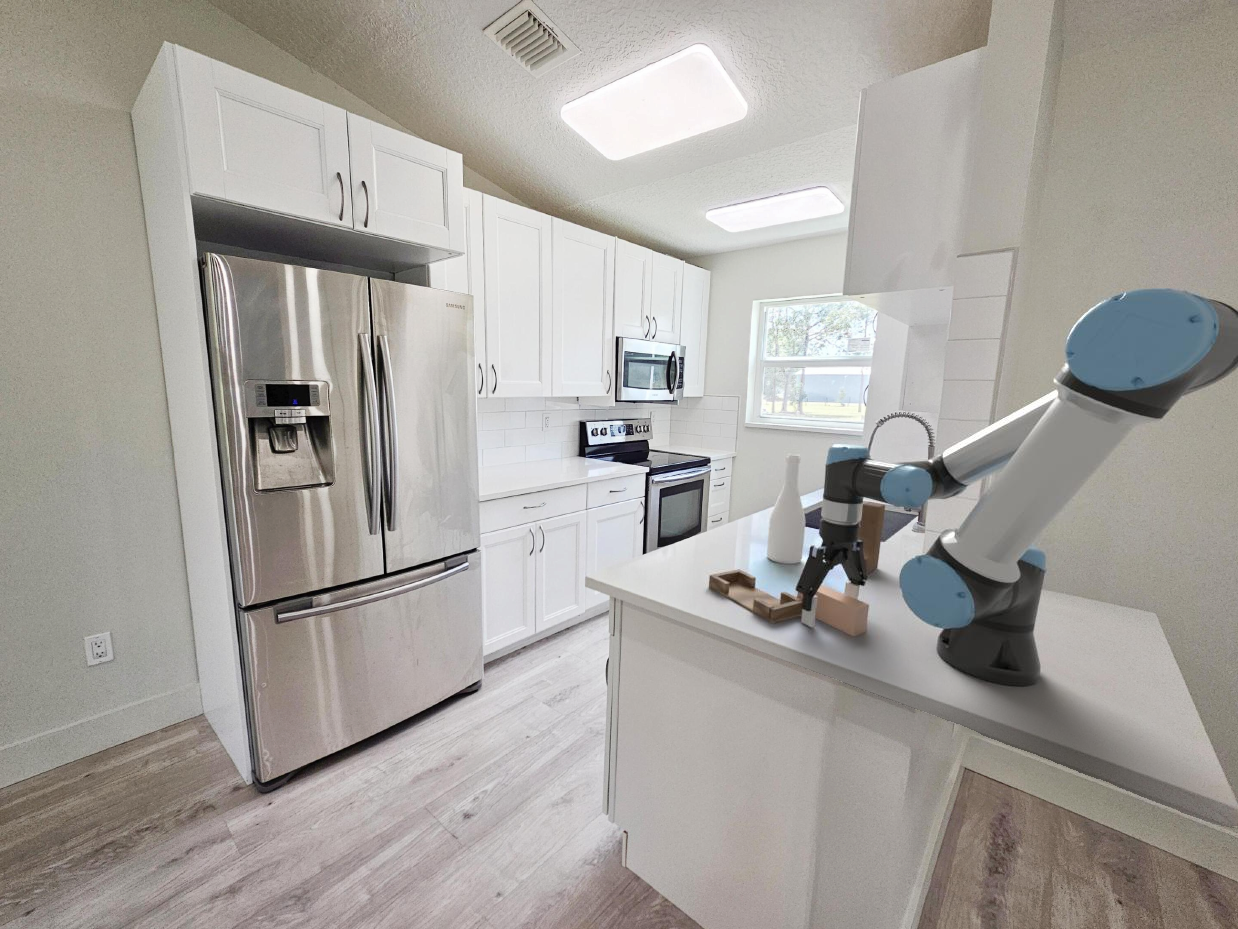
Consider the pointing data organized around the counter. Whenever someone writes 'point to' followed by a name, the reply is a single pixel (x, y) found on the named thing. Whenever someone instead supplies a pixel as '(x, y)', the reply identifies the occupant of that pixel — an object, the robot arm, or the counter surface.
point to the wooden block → (871, 533)
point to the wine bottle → (787, 519)
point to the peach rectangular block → (840, 610)
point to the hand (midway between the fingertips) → (829, 618)
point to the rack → (755, 596)
